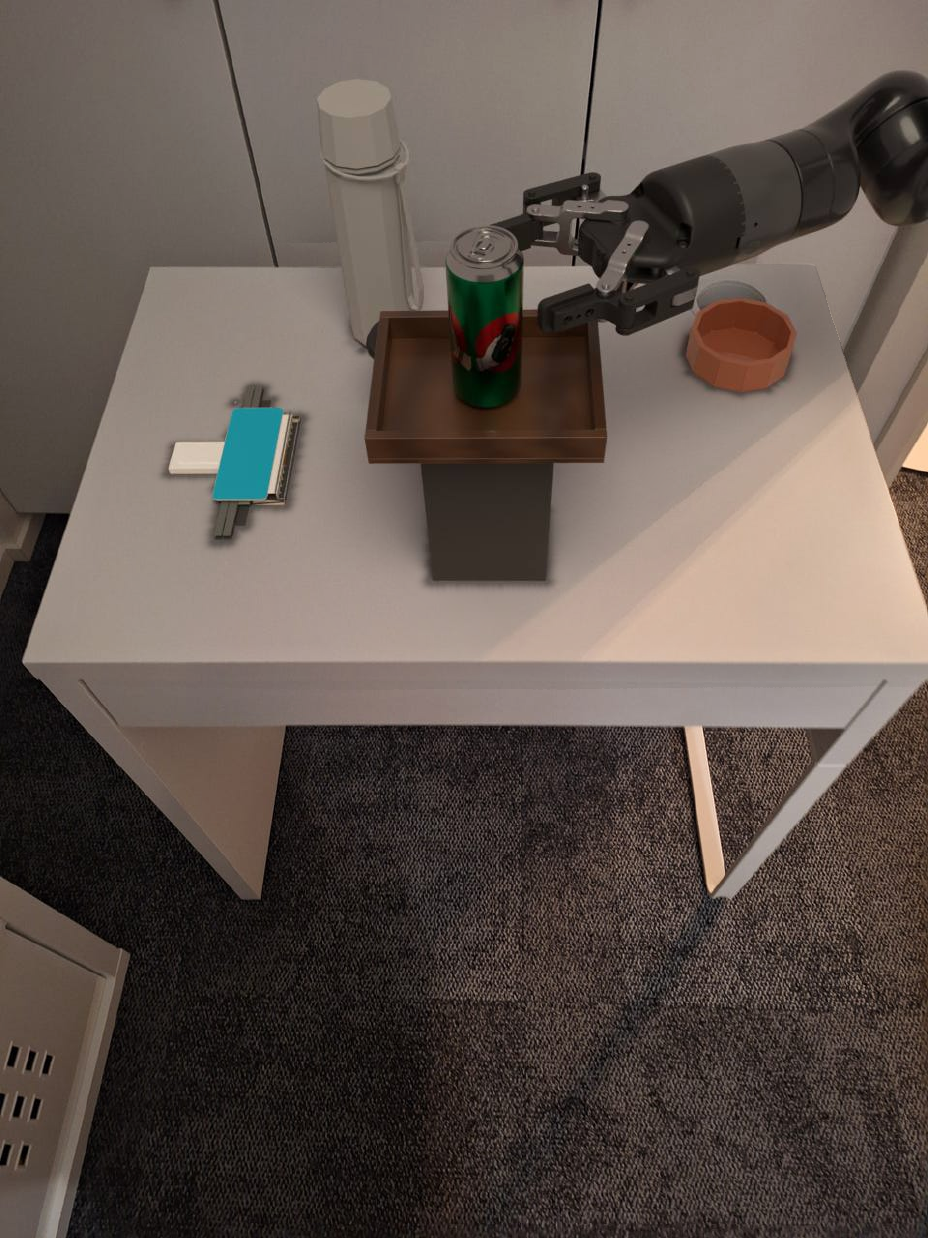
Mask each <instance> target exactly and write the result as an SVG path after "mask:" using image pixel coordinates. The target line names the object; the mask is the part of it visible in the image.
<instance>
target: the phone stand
mask: <svg viewBox="0 0 928 1238" xmlns="http://www.w3.org/2000/svg"><path fill="white" fill-rule="evenodd" d="M263 394H264V386H263V384H248V385H247V389H246V393H245V397H244V400H243V404H242V407H235V408H234V409H232V411H231V414H230V418H229V423H228V427H227V431H226V435H225V439H224V441H176V442H175V444H174V448H173V451H172V456H171V458H170V462H169V466H168V471H169V473H170V474H171V475H173V474H175V475H177V474H179V475H181V474H183V475H184V474H185V475H186V474H187V475H188V474H190V475H191V474H192V475H193V474H197V475H200V474H201V475H202V474H204V475H207V474H208V475H209V474H212V475H214V474H216V477H215V481H214V486H213V488H212V489H213V490H212V494H211V498H212V500H214V501H217V502H218V501H220V503H219V507H218V508H219V509H218V513H217V519H216V523H215V527H214V533H213V536H215V537H214V541H215V540H218V541H219V540H220V541H221V540H227V541H228V540H230V541H231V540H232V538H233V533H234V528H235V527H245V526H246V524H247V519H248V514H249V510H250V505H251V502H252V506H255V505H257V506H260V505H261V506H263V505H265V506H266V505H268V506H269V505H271V506H274V505H275V506H277V505H278V506H279V505H281V506H283V505H284V506H285V505H286V504H287V499H288V493H289V487H290V483H291V476H292V471H293V466H294V461H295V455H296V449H297V444H298V438H299V432H300V428H301V427H300V426H301V420H302V418H301V416H300V415H296V413H294V414H293V413H292V411H291V410H289V412H288V413H287V414H284V413H285V411H284V409H283V408H282V407H271V403H272V399H262V398H263ZM234 403H235V404H236V403H237V401H235V402H234Z"/></svg>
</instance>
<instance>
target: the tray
mask: <svg viewBox="0 0 928 1238" xmlns="http://www.w3.org/2000/svg"><path fill="white" fill-rule="evenodd" d="M537 314H538V308H537V309H535V308H534V309H532V308H531V309H523V323H522V372H521V388H520V390H519V392H518V394H517V395H516V396H515V397H514V398H513V399H512V400H510V401H509V402H507V403H506V404H504V405H502V406H499V407H496V408H489V409H483V408H477V407H474V406H471V405H469V404H467V403H466V402H464V401H463V400H461V399H460V398H459V397H458V396H457V395H456V393H455V391H454V389H453V381H452V364H451V348H450V332H449V315H448V309H447V310H445V309H444V310H419V311H417V310H415V311H380V316H379V324H378V333H377V341H376V349H375V357H374V359H373V364H372V365H373V367H372V374H371V382H370V391H369V399H368V407H367V415H366V423H365V431H364V446H365V449H366V456H367V461H368V464H369V465H381V464H382V465H387V464H388V465H393V464H394V465H395V464H396V465H397V464H398V465H401V464H402V465H404V464H406V465H407V464H410V465H413V464H416V465H417V464H419V465H421V464H437V463H554V464H604V463H605V458H606V450H607V444H608V429H607V428H608V427H607V416H606V415H607V414H606V404H605V392H604V378H603V367H602V366H603V365H602V354H601V353H602V352H601V341H600V329H599V322H597V321H595V320H593V321H590V322H587V323H584V324H581V325H579V326H575V327H573V328H570V329H567V330H565V331H559V332H554V331H553V332H550V333H544V332H543V331H542V330H541V329H540V328H539V326H538V325H537Z"/></svg>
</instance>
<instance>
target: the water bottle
mask: <svg viewBox="0 0 928 1238" xmlns="http://www.w3.org/2000/svg"><path fill="white" fill-rule="evenodd" d="M316 101H317V102H316V104H317V119H318V133H319V147H320V149H319V155H320V158H321V160H322V162H323V164H324V169H325V177H326V183H327V188H328V195H329V200H330V207H331V214H332V219H333V224H334V232H335V236H336V243H337V249H338V253H339V254H338V255H339V261H340V267H341V274H342V278H343V284H344V291H345V297H346V302H347V309H348V314H349V321H350V326H351V331H352V334H353V338H355V339H356V340H357V341H358V342H359V343H361V344H362V345H363V346H364V347H366V341H367V336H368V334H369V333H370V331H371V329H372V327H373V326H374V325H375V324H376V323H377V322H378V321H379V316H380V311H421V310H422V308H423V306H424V301H425V285H424V281H423V280H424V279H423V275H422V270H421V263H420V259H419V254H418V249H417V244H416V238H415V233H414V227H413V221H412V217H411V212H410V206H409V201H408V196H407V191H406V185H405V180H406V172H407V171H406V170H407V166H408V164H410V156H411V155H410V154H411V152H410V150H409V148H408V146H407V144H406V142H405V141H404V140H403V139H401V138H400V136H399V129H398V125H397V120H396V114H395V109H394V104H393V98H392V95H391V92H390V90H389V87H387V86H386V85H383V84H382V83H380V82H378V81H376V80H370V79H369V80H368V79H362V78H361V79H360V78H355V79H349V80H342V81H338V82H336V83H334V84H332V85H330V86H328V87H325V88H324V89H323V90H322V91H321V92H320V94H319V95H318V97H316ZM401 147H402V148H403V150H404V155H405V157H404V158H405V159H404V161H403V162H402V158H401V155H400V153H401V152H402V149H401ZM410 250H411V253H410ZM411 257H412V261H413V267H414V273H415V278H416V283H417V290H418V304H416V302H415V295H414V294H415V293H414V284H413V272H412V262H411Z"/></svg>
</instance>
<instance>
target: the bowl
mask: <svg viewBox="0 0 928 1238" xmlns="http://www.w3.org/2000/svg"><path fill="white" fill-rule="evenodd" d="M797 333H798V332H797V330H796V328H795V326H794V325H793V323H792V321H791V319H790V317H789V316H788V315H787V314H786V313H784V312H783V311H781V310H780V309H778V308H776V307H775V306H773V305H772V304H770V303H768V302H765V301H760V300H755V299H749V298H745V297H735V298H734V297H733V298H726V299H720V300H719V299H718V300H715V301H713V302H711V303H710V304H708V305H706V306H705V307H702V308H701V309H700V310H698V311H697V312H696V314H695V317H694V320H693V323H692V326H691V328H690V334H689V338H688V343H687V347H686V351H685V357H686V359H687V361H688V364H689V366H690V368H691V370H692V372H693V374H695V375H697V376H698V377H699V378H701V379H702V380H704V382H706V383H708V384H710V385H711V386H713V387H715V388H720V389H725V390H729V391H734V392H738V393H741V392H751V391H757V390H762V389H767V388H769V387H770V386H772V385H773V384H774V383H776V382H777V381H779V380H780V379H782V378H783V377H784V376H785V373H786V370H787V368H788V364H789V361H790V358H791V356H792V352H793V349H794V345H795V342H796V337H797Z"/></svg>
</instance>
